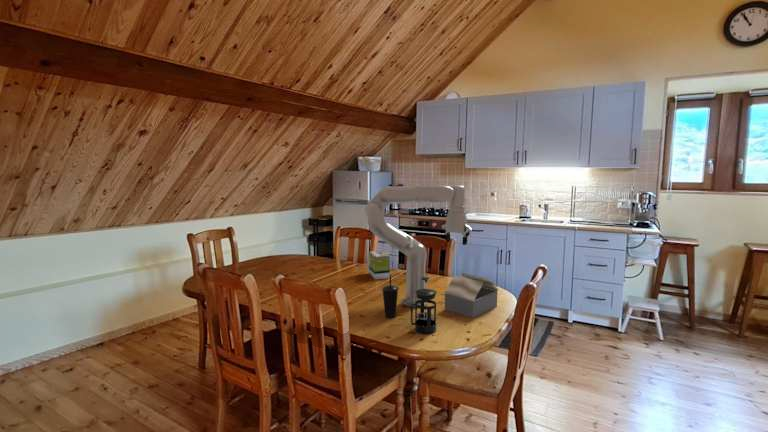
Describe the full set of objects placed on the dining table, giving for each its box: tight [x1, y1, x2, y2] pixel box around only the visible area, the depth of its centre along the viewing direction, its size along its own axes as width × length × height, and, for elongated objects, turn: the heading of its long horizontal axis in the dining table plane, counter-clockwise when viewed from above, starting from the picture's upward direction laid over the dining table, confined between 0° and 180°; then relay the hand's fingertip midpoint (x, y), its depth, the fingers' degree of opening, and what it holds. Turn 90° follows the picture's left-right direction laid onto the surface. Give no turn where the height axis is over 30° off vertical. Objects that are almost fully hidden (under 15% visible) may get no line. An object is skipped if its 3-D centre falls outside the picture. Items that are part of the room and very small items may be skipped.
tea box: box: [368, 250, 391, 280], centre depth 259 cm, size 15×10×15 cm, turn 17°
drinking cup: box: [381, 274, 399, 319], centre depth 191 cm, size 8×8×20 cm
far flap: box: [461, 272, 499, 292], centre depth 207 cm, size 11×16×1 cm
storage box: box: [444, 287, 498, 319], centre depth 203 cm, size 22×16×8 cm
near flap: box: [444, 275, 483, 301], centre depth 197 cm, size 11×16×1 cm
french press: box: [410, 276, 437, 335], centre depth 175 cm, size 12×9×23 cm
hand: (456, 243), depth 210 cm, fingers open, 9 cm apart
